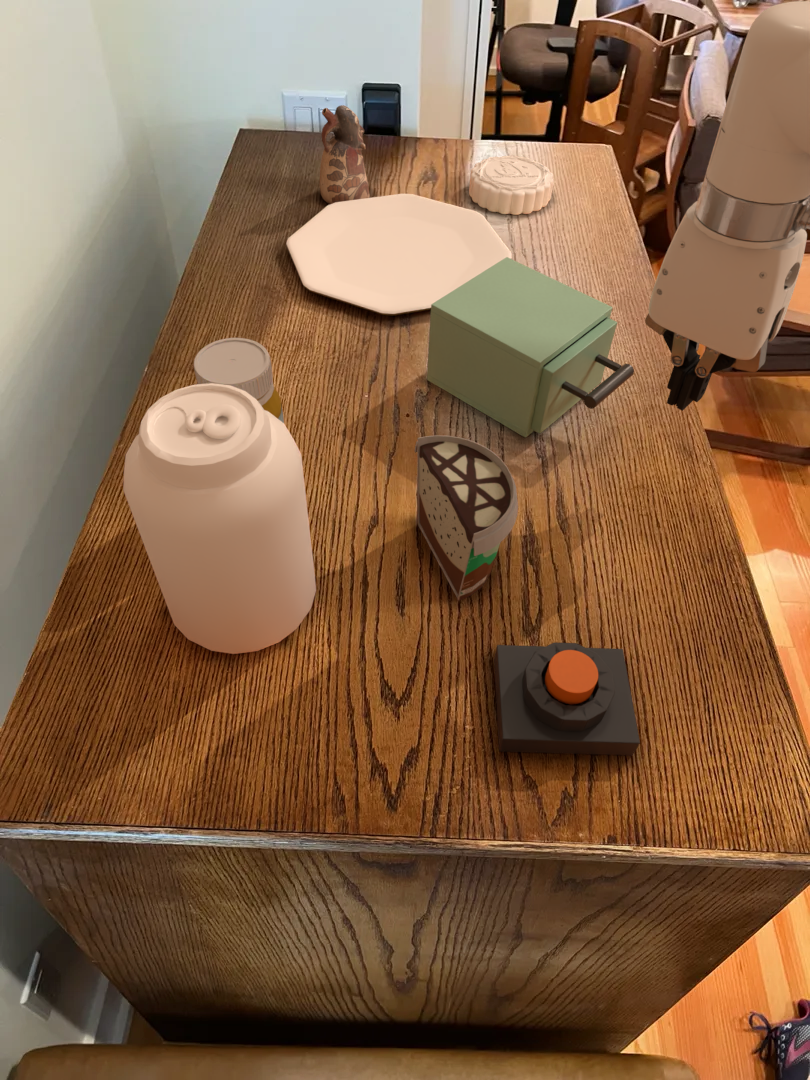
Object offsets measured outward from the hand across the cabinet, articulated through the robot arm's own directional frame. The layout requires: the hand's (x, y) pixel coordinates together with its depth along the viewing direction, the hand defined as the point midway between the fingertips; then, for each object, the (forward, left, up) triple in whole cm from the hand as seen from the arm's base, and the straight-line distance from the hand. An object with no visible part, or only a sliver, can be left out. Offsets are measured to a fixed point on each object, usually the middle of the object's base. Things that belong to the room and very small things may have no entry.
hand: (682, 399), depth 71 cm
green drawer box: (+19, 0, -8) cm, 20 cm away
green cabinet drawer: (+15, 0, -7) cm, 17 cm away
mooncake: (+45, -34, -8) cm, 57 cm away
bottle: (+27, +30, -8) cm, 41 cm away
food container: (+7, +22, -8) cm, 24 cm away
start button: (-8, +29, -5) cm, 31 cm away
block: (-8, +29, -8) cm, 31 cm away
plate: (+45, -10, -8) cm, 47 cm away
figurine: (+62, -17, -8) cm, 65 cm away
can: (+18, +39, -8) cm, 44 cm away
